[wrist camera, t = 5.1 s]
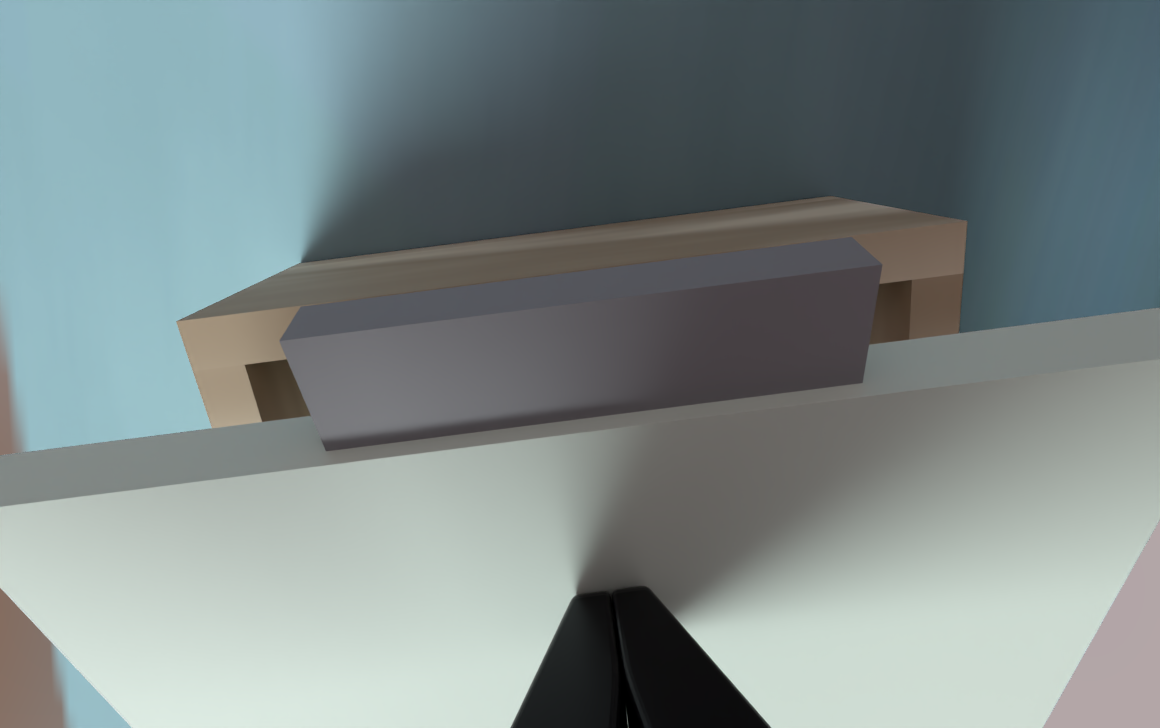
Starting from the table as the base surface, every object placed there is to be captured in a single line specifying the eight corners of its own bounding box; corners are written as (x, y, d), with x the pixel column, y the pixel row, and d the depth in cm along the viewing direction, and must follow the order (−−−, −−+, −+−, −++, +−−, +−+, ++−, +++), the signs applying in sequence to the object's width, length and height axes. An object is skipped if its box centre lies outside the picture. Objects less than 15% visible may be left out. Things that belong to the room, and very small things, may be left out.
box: (826, 681, 19) (918, 859, 14) (423, 733, 19) (380, 928, 14) (830, 195, 14) (967, 220, 10) (299, 263, 14) (175, 321, 10)
